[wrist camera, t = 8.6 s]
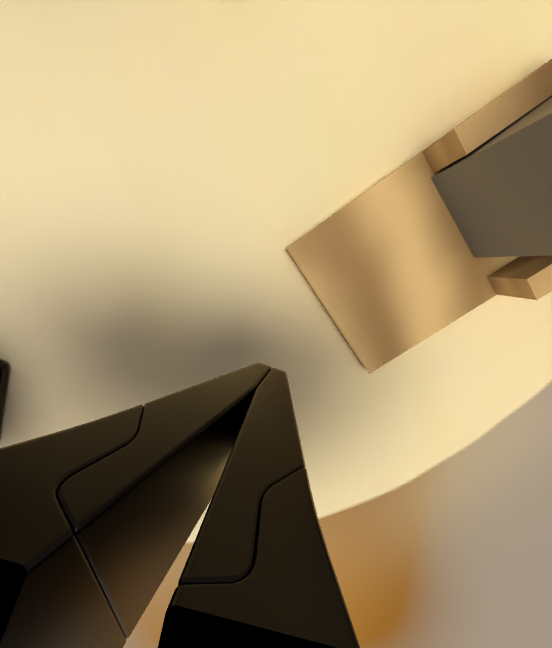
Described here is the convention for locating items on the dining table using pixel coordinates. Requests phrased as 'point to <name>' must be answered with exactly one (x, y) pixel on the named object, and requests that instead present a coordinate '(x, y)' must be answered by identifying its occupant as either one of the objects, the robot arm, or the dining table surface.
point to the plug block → (505, 189)
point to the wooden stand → (416, 246)
